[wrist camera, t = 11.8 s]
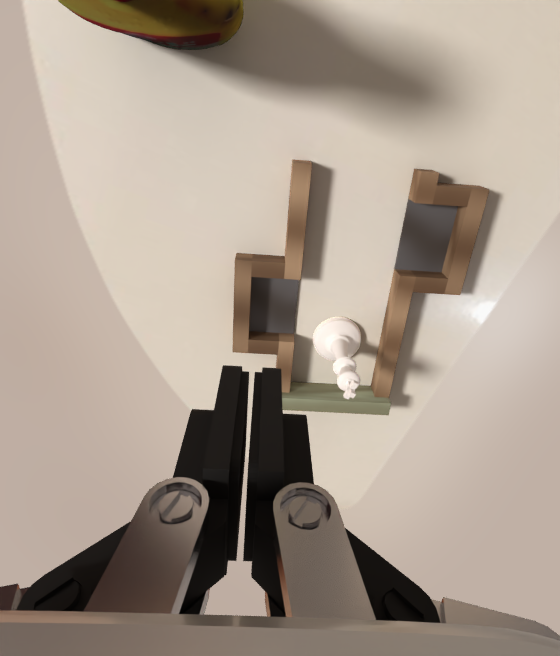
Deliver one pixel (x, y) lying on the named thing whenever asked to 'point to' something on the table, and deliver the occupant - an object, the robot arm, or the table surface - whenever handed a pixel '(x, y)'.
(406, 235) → the trap lane
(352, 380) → the chess piece
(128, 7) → the bottle
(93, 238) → the table surface
